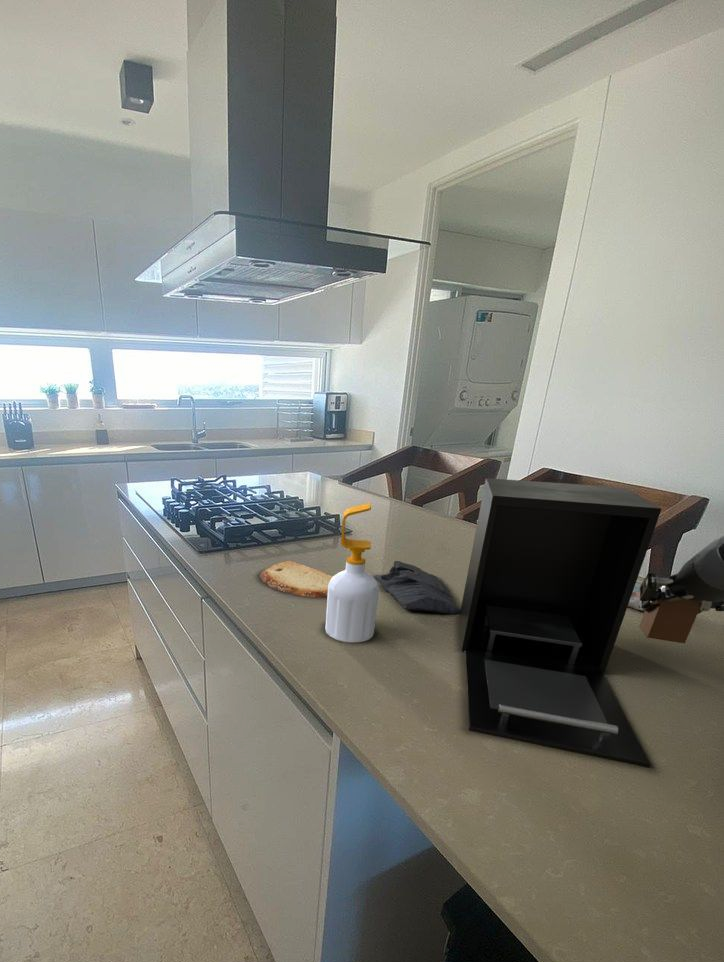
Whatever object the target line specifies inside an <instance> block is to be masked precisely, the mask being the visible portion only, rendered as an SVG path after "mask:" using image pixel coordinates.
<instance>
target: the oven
mask: <svg viewBox="0 0 724 962" xmlns="http://www.w3.org/2000/svg"><path fill="white" fill-rule="evenodd" d="M661 512H662V508H661V507H659V506H658V505H656V504H655V503H653V502H651V501H649V500H647V499H646V498H644V497H642V496H641V495H639V494H637V493H636V492H634V491H632V490H631V489H629V488H628V487H624V486H623V487H621V486H607V485H594V484H593V485H592V484H579V483H562V482H550V481H533V480H521V479H520V480H519V479H503V478H491V477H490V478H488V477H486V478H485V480H484V487H483V492H482V497H481V502H480V507H479V513H478V517H477V523H476V527H475V533H474V538H473V544H472V549H471V553H470V559H469V564H468V569H467V575H466V578H465V579H466V581H465V584H464V589H463V595H462V600H461V605H460V609H461V610H460V613H459V629H460V630H459V631H460V651H461V652H462V653H464V670H465V687H466V688H465V689H466V705H467V722H468V723H467V724H468V731H469V732H474V733H478V734H483V735H488V736H493V737H498V738H503V739H507V740H513V741H516V742H517V741H518V742H522V743H527V744H531V745H536V746H542V747H545V748H552V749H556V750H560V751H566V752H571V753H576V754H580V755H585V756H590V757H595V758H600V759H604V760H609V761H613V762H619V763H625V764H629V765H634V766H639V767H644V768H649V769H650V767H651V762H650V759H649V758H648V756H647V754H646V752H645V750H644V749H643V746H642V745H641V743H640V741H639V739H638V737H637V736H636V734H635V732H634V730H633V728H632V726H631V724H630V723H629V720H628V719H627V716H626V714H625V712H624V711H623V709H622V707H621V705H620V704H619V701H618V699H617V697H616V696H615V694H614V692H613V690H612V688H611V687H610V685H609V683H608V680H607V679H606V677H605V672H606V670H607V667H608V663H609V661H610V658H611V655H612V653H613V651H614V648H615V644H616V641H617V638H618V635H619V632H620V630H621V627H622V624H623V621H624V618H625V615H626V613H627V609H628V608H629V607H628V604H629V601H630V598H631V595H632V593H633V590H634V587H635V584H636V582H638V578H639V575H640V572H641V569H642V567H643V564H644V561H645V558H646V556H647V552H648V549H649V548H650V547H649V546H650V543H651V540H652V538H653V535H654V532H655V529H656V527H657V523H658V521H659V518H660V515H661ZM486 605H488V606H496V607H503V608H510V609H518V610H525V611H532V612H540V613H547V614H554V615H562V616H568V617H569V619H570V621H571V623H572V625H573V627H574V629H575V631H576V633H577V635H578V637H579V639H580V641H581V643H582V647H580V648H579V651H578V654H577V657H576V660H575V663H574V664H569V662H568V660H569V657H570V653H571V650H572V647H573V646H570V645H563V644H557V643H550V642H544V641H537V640H530V639H524V638H517V637H511V636H504V635H497V634H496V636H495V640H494V644H493V649H492V651H488V650H487V645H488V641H489V637H490V631H489V625H488V626H484V625H483V623H484V619H485V614H486Z"/></svg>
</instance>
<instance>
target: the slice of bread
mask: <svg viewBox="0 0 724 962" xmlns="http://www.w3.org/2000/svg"><path fill="white" fill-rule="evenodd" d="M259 577H260V579H261V580H262V582H263V583H264V584H265V585H267V586H268V587H270V588H273V589H275V590H278V591H281V592H284V593H288V594H293V595H296V596H302V597H309V598H328V584H329V582H330V580H331V578H332V577H333V576H332V575H329V574H328V573H326V572H324V571H321V570H319V569H315V568H312V567H309V566H307V565H303V564H301V563H298V562H294V561H293V560H288V561H283V562H278V563H275V564H274V565H271V566H269V567H268V568H266V569H265V570H263V571H261V573H260V574H259Z"/></svg>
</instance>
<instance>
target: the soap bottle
mask: <svg viewBox="0 0 724 962" xmlns="http://www.w3.org/2000/svg"><path fill="white" fill-rule="evenodd" d="M371 510H372V505H371V503H370V502H367V503H363V504H359V505H354V506H350V507H348V508H347V509H346V510H344V513H343V516H342V517H343V518H342V523H341V539H340V543H341V546H342V547H343V548H345V549H348V551H349V552H351V555H350V556H348V557H346V560H345V569H343V570H342V571H339V572H337V573H336V574H333V576H332V578H331V580H330V582H329V584H328V597H326V598H327V600H326V613H325V633H326V634H327V635H328V636H329V637H331V638H332V639H335V640H336V641H340V642H344V643H352V644H353V643H363V642H366V641H369V640H370V639H372V638H373V636H374V634H375V626H376V618H377V611H378V601H379V592H380V586H379V582H378V580H377V579H376V578H375V577H374V576H372V575H371V574H370V573H368V572H366V571H365V570H366V558H364V557H362V554H363V553H364V552H366V551H368V550H371V549H372V541H370V540H364V539H351V538H349V539H348V538H347V537H346V535H345V530H346V520H347V518H348V517H350V516H354V515H357V514H361V513H366V512H369V511H371Z"/></svg>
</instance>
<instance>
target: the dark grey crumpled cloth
mask: <svg viewBox="0 0 724 962" xmlns="http://www.w3.org/2000/svg"><path fill="white" fill-rule="evenodd" d="M374 579H375V580H376V581H377V582H378V583H379V585H380V586H381V587H382V588H383V590H385V591H386V592H387V593H389V594H390V597H393V599H394V600H395V601H396V602H397V603H398V604H399V605H400V606H401V607H403V608H404V609H406V610H407V611H418V612H419V611H420V612H430V613H436V614H446V615H458V614H460V610H461V607H459V606H458V605H457V603H456V601H455V600H454V598H453V596H452V595H451V593H450V592H449V591H448V589H447V588H446V586H445V585H444V584H443V583H442V581H441V580H440V579H439V578H438V576H436V575H435V574H431V573H428V572H426V571H424V570H422V569H421V568H420V567H418V566H416V565H413V564H410V563H405V562H403V561H401V560H395V561H393V565H392V566H391V567H390V569H389V572H388V573H387V574H380V575H379V574H378V575H375V576H374Z"/></svg>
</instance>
